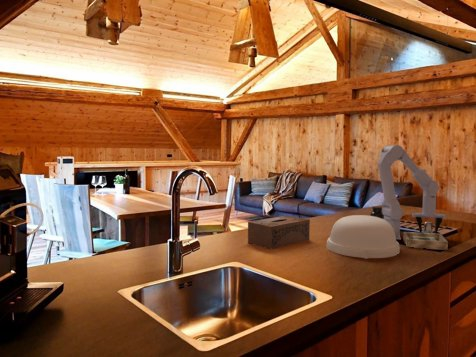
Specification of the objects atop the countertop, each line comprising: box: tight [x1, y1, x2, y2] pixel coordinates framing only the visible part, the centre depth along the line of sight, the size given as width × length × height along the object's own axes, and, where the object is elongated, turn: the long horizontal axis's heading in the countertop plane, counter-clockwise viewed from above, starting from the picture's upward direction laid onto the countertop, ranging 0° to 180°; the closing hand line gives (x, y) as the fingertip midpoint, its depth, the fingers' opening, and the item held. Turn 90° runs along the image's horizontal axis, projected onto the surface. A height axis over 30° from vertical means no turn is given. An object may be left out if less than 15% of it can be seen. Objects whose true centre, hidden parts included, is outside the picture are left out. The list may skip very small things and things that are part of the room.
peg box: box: [402, 231, 449, 251], centre depth 182 cm, size 16×16×4 cm
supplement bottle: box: [369, 205, 384, 219], centre depth 214 cm, size 7×7×12 cm
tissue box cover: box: [247, 215, 311, 250], centre depth 187 cm, size 26×14×10 cm, turn 131°
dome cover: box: [326, 214, 401, 260], centre depth 174 cm, size 32×30×14 cm
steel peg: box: [423, 221, 434, 234], centre depth 197 cm, size 4×4×7 cm
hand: (428, 232), depth 197 cm, fingers open, 6 cm apart
